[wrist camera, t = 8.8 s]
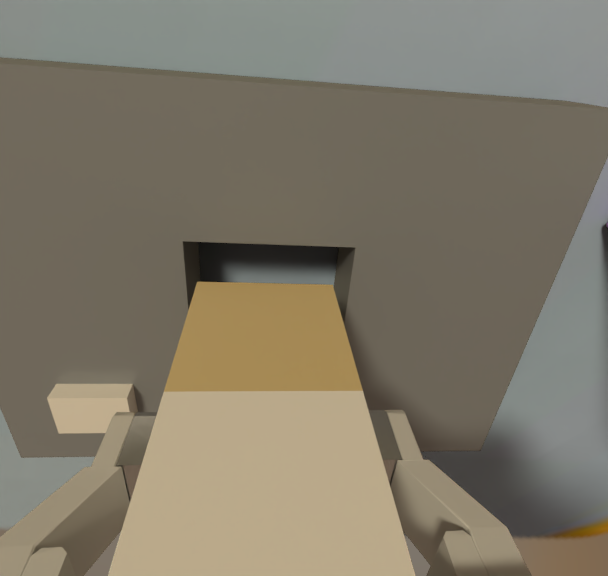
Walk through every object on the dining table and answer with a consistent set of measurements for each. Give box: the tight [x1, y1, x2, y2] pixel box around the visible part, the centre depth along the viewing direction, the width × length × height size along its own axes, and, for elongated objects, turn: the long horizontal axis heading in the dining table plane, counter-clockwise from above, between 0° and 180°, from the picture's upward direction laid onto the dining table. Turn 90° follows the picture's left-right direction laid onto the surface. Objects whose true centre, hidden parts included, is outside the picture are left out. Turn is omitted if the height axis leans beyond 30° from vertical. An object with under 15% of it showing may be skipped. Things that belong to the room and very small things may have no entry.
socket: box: [0, 57, 608, 458], centre depth 17 cm, size 22×16×4 cm
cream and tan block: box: [108, 282, 416, 576], centre depth 11 cm, size 4×4×9 cm
